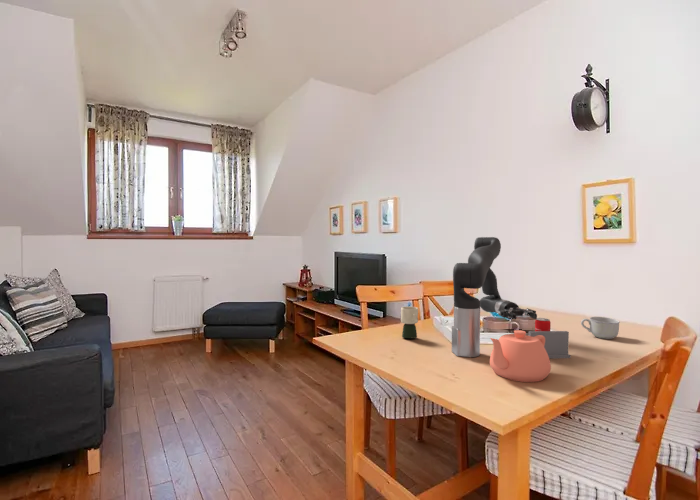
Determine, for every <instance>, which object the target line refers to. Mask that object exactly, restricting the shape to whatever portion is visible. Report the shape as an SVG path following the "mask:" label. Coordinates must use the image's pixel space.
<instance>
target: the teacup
mask: <svg viewBox="0 0 700 500" xmlns="http://www.w3.org/2000/svg"><path fill="white" fill-rule="evenodd" d="M585 322H588V325H589V327H588V326H586V325H585ZM620 323H621V322H620V320H618V319H616V318H611V317H605V316H590V317H589V318H586V317H585V318H583V319H581V321H580V325H581V326H582V328H584V329H586V331H588V332H589V333H591V334H592V335H593V336H594V337H595V338H598V339H603V340H612V339H614V338H615V337H617V336H618V334H619V333H620V331H619V329H620Z"/></svg>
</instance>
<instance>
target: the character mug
mask: <svg viewBox="0 0 700 500" xmlns="http://www.w3.org/2000/svg"><path fill="white" fill-rule="evenodd" d="M400 311H401V312H400V321H401V323H402V324H403V326H402V327H403V328H402V335H401V337H402V338H403V339H410V340H411V339H417V338H418V335H417V334H418V333H417V326H416V324H417V323H418V322H419V307H417V306H401V308H400Z"/></svg>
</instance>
